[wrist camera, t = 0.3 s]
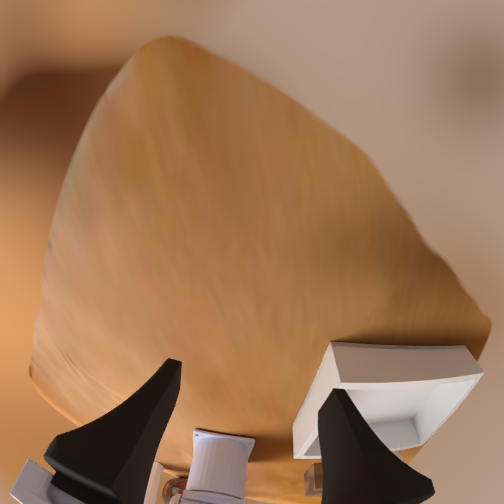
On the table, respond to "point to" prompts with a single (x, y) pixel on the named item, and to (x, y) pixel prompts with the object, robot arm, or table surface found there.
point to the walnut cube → (314, 480)
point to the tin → (173, 488)
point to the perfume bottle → (153, 483)
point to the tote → (389, 391)
